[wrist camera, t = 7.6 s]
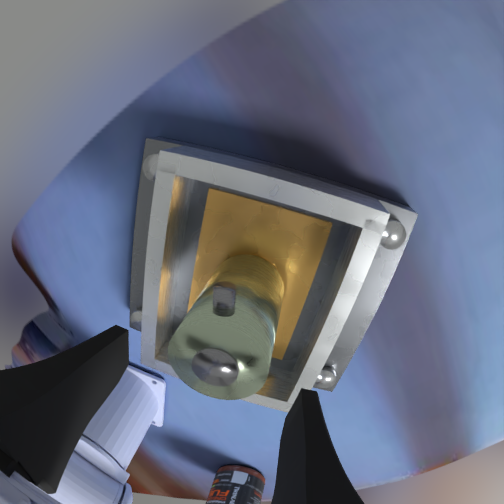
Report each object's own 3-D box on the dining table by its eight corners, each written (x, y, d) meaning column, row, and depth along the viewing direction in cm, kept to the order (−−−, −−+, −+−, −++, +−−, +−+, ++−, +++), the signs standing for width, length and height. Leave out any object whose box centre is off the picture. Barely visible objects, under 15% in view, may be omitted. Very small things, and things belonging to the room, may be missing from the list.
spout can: (211, 312, 20) (169, 391, 14) (214, 231, 18) (159, 292, 12) (279, 323, 20) (261, 412, 13) (291, 242, 18) (277, 314, 11)
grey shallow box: (138, 316, 24) (110, 349, 20) (157, 136, 18) (117, 142, 14) (332, 378, 23) (331, 422, 19) (410, 207, 17) (435, 231, 13)
